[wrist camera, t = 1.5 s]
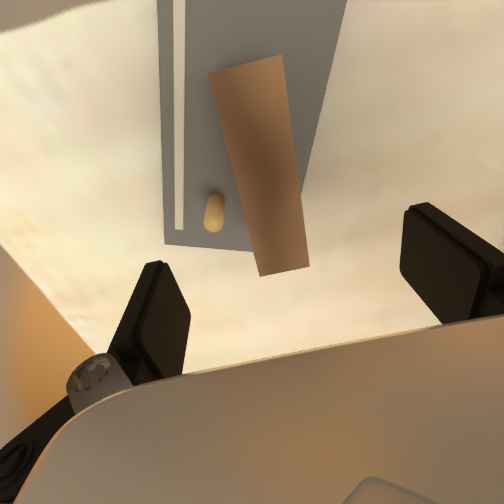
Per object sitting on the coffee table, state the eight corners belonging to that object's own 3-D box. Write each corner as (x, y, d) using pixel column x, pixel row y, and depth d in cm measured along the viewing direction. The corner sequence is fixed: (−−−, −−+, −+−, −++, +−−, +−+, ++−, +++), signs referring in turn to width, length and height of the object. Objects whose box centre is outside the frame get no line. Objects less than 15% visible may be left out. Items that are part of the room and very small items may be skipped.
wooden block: (267, 59, 22) (282, 54, 15) (292, 221, 29) (309, 266, 22) (215, 72, 22) (207, 73, 15) (253, 229, 29) (259, 276, 23)
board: (373, -136, 18) (432, -223, 12) (284, 248, 32) (294, 283, 27) (156, -193, 16) (118, -320, 11) (167, 238, 31) (153, 272, 26)
